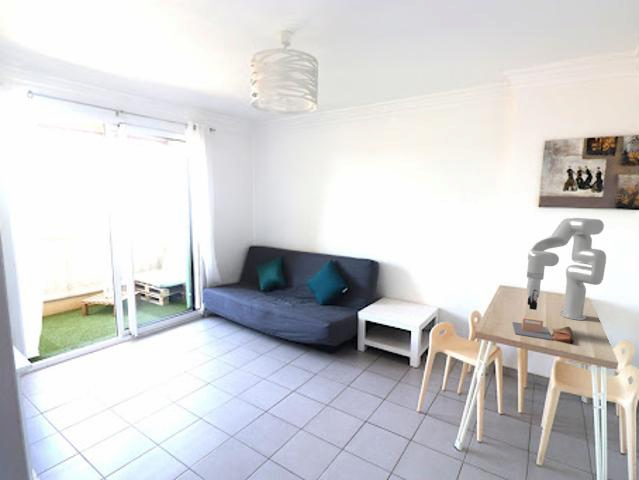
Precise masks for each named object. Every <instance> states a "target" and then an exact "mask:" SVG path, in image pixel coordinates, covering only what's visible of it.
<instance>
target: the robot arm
mask: <svg viewBox="0 0 639 480" xmlns="http://www.w3.org/2000/svg"><path fill="white" fill-rule="evenodd" d="M604 226H605V224H604V221H602V220H601V219H599V218H598V219H597V218H585V217H584V218H581V217H572V218H570V217H567V218H564V219H563V220H561V222H560V223H559V224H558V226H557V227H556V228H555V230H554V232H553V233H552V234H551V235H550V236H547V237H545V238H543V239H541V240H539V241H538V242H536V243H535V244H533V246H532V248H531V249H529V252H528V254H527V259H528V262H527V263H528V264H527V272H526V278H528V280H527V285H526V295H527V296H528V297H527V305H529V306H528V307H529V309H530V310H535V311H536V310H537V309H538V308H537V307H538V298H540V291H541V283H542V281H541V280H544V275H545V267H555V266H557V265H558V263H559V262H560V259H559V258H560V257H559V256H558V255H557V254H556V253H554V252H549V251H547V250H549V249H555V248H560V247H564V246H567V244H569V242H570V240H571V239H572V238H573V244H572V249H571V250H572V252H571V261H573V262H575V263H578V264H571V265H569V266H568V267H566V269H565V276H566V285H565V286H566V287H565V293H564V301H563V310H562V311H560V312H559V315H560V316H562V317H563V318H567V319H569V320H570V319H571V320H574V321H575V320H576V321H585V320H587V319H586V318H587V316H585V315H584V310H585V309H584V308H585V302H586V293H587V289H586V286H585V284H588V285H593V286H596V285H597V286H598V285H601V284H602V282H603V281H604V275H605V269H606V264H607V255H606V252H605V251H604V250H601V249H597V248H593V247H592V244H593V238H592V236H593V235H596V236H597V235H600V233H602V232H603V230H604V228H605V227H604ZM579 264H582V265H579ZM586 265H589V266H586ZM590 266H591V267H590Z"/></svg>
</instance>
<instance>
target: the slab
mask: <svg viewBox="0 0 639 480" xmlns="http://www.w3.org/2000/svg"><path fill="white" fill-rule="evenodd" d="M521 320H522V321H521V323H522V330H526V331H533V332H539V333H542V327H544V326H543V325H544V320H543V319H538V318H533V317H526V316H525V317H524V316H523V317H522V319H521Z"/></svg>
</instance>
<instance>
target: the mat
mask: <svg viewBox="0 0 639 480" xmlns="http://www.w3.org/2000/svg"><path fill="white" fill-rule="evenodd" d="M511 323H512V326H513V331H514V334H515V335H518V336H521V337H522V336H523V337H528V338H535V339H540V340H541V339H542V340H547V341H553V337H552V335H551V334H550V332H549V331H548V328H547V326H543V327H542V333H539V332H533V331H526V330H522V322H518V321H517V322H516V321H512V322H511Z"/></svg>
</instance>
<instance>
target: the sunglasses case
mask: <svg viewBox="0 0 639 480" xmlns="http://www.w3.org/2000/svg"><path fill="white" fill-rule="evenodd" d="M552 331H553V337H552V341H554V342H559V343H563V344H567V345H573V344H574V336H573V331H572V328H571V326H566V327H565V326H564V327H562V328H555V329H552Z"/></svg>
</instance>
